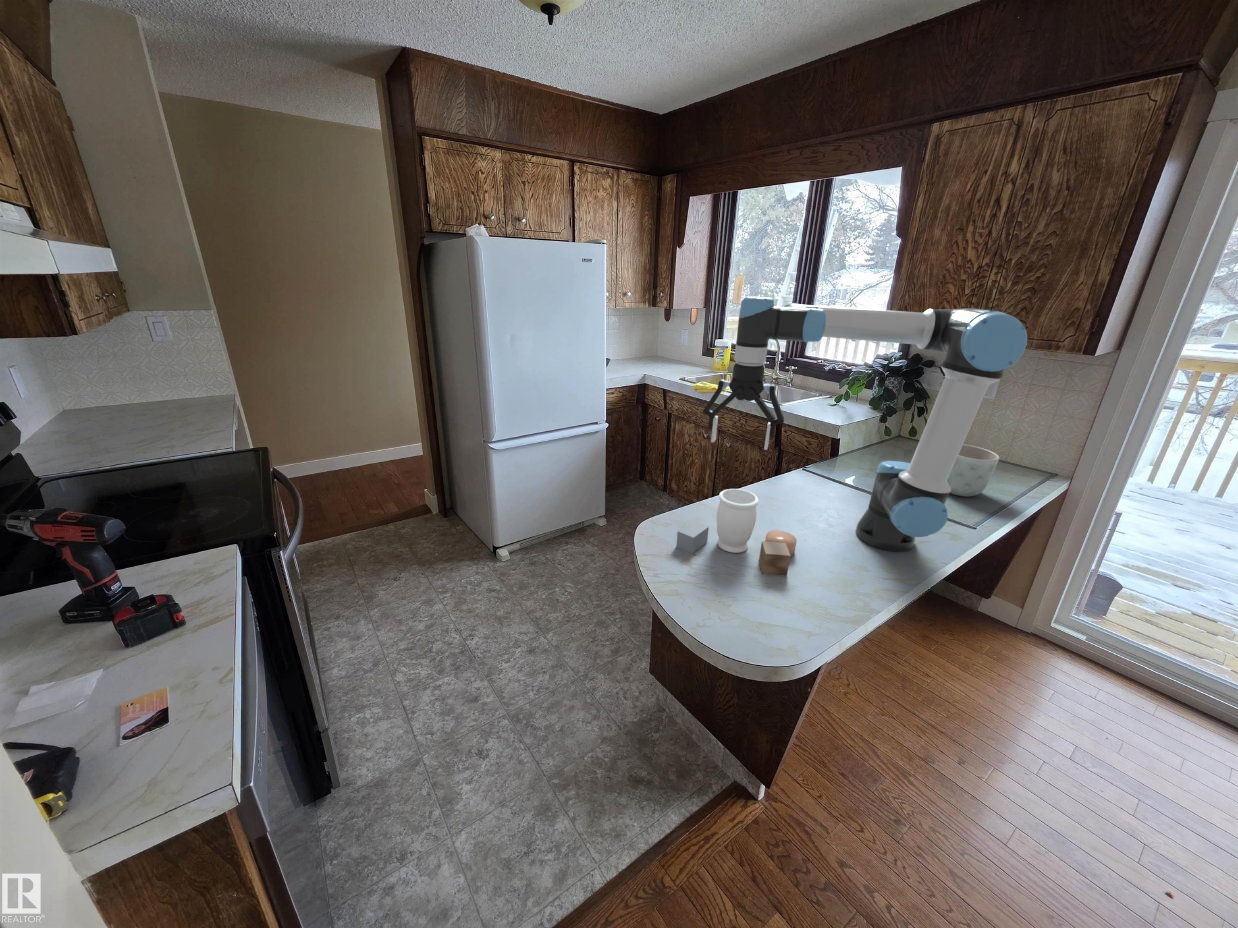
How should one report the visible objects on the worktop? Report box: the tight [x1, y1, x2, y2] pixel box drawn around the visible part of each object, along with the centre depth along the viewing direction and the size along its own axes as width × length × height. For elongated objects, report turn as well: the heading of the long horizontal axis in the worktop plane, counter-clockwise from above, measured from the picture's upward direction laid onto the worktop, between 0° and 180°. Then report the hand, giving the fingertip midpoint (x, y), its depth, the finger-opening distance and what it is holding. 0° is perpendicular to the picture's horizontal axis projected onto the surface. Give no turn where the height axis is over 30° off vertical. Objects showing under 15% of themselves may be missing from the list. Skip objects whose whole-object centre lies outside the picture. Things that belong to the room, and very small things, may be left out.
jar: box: [716, 488, 759, 554], centre depth 135 cm, size 11×10×15 cm
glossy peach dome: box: [764, 530, 798, 558], centre depth 136 cm, size 8×8×4 cm
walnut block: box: [758, 540, 791, 577], centre depth 127 cm, size 6×6×6 cm
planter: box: [947, 443, 1000, 497], centre depth 175 cm, size 17×17×15 cm
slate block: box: [675, 520, 710, 554], centre depth 137 cm, size 5×8×5 cm, turn 141°
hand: (739, 444), depth 131 cm, fingers open, 13 cm apart
